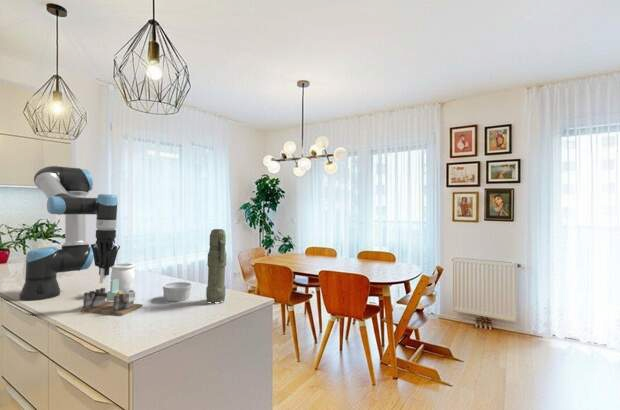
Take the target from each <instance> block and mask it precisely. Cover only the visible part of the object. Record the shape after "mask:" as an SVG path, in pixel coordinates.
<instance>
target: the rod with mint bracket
mask: <svg viewBox="0 0 620 410" xmlns="http://www.w3.org/2000/svg"><path fill="white" fill-rule="evenodd" d="M106 298H107V292H106V287H100V289H98V288H97V289H95V291H94V290H91V291H88V292H84V293H83V299H82V300H83V303H82V305H83V306H82V307H81V308H80V312H81V311H84V312H83V313H90V312H92V314H100V315H101V314H102V315H113V316H120V317H123V316H125V315H127V314H129V313H131V312H134V311H136V310H138V309H141V308H143V304H142V303H134V301H136V291H135V290H133V289H131V290H129V292H124V293H123V292H118V293H117V294H116V295H115V296H114V301H107V300H106Z"/></svg>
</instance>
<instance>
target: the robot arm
mask: <svg viewBox="0 0 620 410" xmlns="http://www.w3.org/2000/svg"><path fill="white" fill-rule="evenodd" d="M33 182H34V184H35V186H36V187H37V188H38V189H39V190H40V191H42V192H43V194H45V197H46V198H47V201H46V209H47V213H48V214H50V215H58V216H59V215H65V216H64V218H65V219H64V225H65V227H64V228H65V232H64V234H65V236H64V238H65V239H64V241H65V242H64V243H62V245H61V248H60V249H58V246H46V247H40V248H34V249H31V250H29V251H28V252H27V253H26V257H25V277H24V279H25V280H24V281H25V282H24V284H23V286H22V288H21V291H20V293H19V300H22V301H38V300H47V299H51V298H54V297H58V296H60V295H61V288H60V285H59V282H58V279H57V274H59V273H66V272H77V271H78V272H80V271H83V270H89V268H90V267H91V265H92V264H93V262H94V266H95V267H97V268H98V275H99V284H105V283H108V279H109V275H110V269H111V267H112V266H114V265H115V263H116V260H117V255H118V252H119V250H120V249H121V246H120V245H117V244H116V241H115V239H116V236H117V230H116V228H117V217H118V216H117V214H118V204H119V203H118V195H116V194H104V193H100V194H98V195H97V197H87V196H88V195H89V193H90V191H92V190H93V187H94V179H93V175H92V173H91V171H89V170H88V169H85V168H80V167H68V166H57V165H52V166H51V165H50V166H46V167H43V168H41V169H40V170H38V171H37V172H36V173H35V175H34V176H33ZM86 215H96V217H95V218H96V222H95V223H96V224H95V226H96V227H95V228H96V230H95V238H96V240H95V243H93V244H89V242H87V241H86V236H87V235H86Z"/></svg>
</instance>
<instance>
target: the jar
mask: <svg viewBox="0 0 620 410" xmlns="http://www.w3.org/2000/svg"><path fill="white" fill-rule="evenodd" d="M135 267H136V265H135V264H134V263H116V264H114V266H112V267H110V269H112V270H111V272H110V282H111V281H112V280H115V279H119V291H122V292H123V293H124V292H129V290H133V286H134V281H135V275H136V274H135V269H134V268H135Z"/></svg>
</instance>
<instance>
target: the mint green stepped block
mask: <svg viewBox="0 0 620 410" xmlns="http://www.w3.org/2000/svg"><path fill="white" fill-rule="evenodd" d="M109 287H110V289H109V290H110V291H106V293H107V297H106V301H111V302H113V301H114V296H115V295H116V294H117V293H118V292H122V291H119V279H115V280H112V281H111V280H110V285H109Z"/></svg>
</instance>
